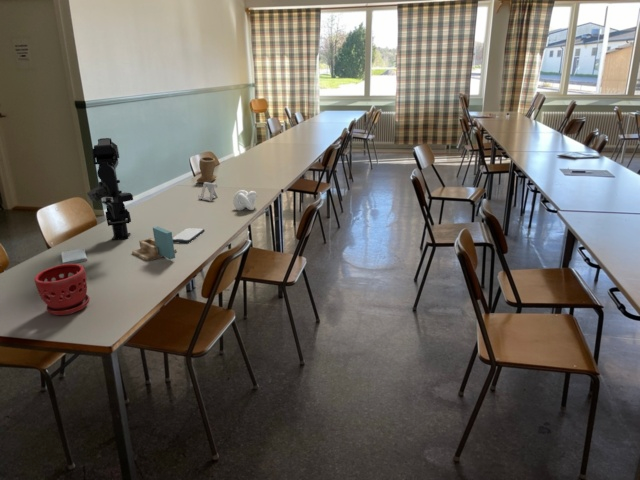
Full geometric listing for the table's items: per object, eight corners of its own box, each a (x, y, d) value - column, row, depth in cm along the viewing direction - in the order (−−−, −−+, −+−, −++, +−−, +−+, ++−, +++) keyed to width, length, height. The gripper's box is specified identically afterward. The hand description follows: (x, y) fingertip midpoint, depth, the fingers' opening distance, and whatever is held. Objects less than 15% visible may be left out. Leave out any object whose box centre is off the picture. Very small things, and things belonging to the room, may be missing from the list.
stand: (132, 253, 186) (130, 243, 184) (160, 244, 194) (159, 235, 192) (147, 261, 178) (146, 251, 176) (176, 251, 186) (175, 242, 184)
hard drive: (86, 258, 180) (83, 247, 190) (62, 262, 176) (60, 252, 186) (87, 262, 180) (84, 251, 191) (63, 266, 177) (61, 256, 187)
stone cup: (213, 184, 291) (210, 159, 286) (194, 184, 293) (191, 159, 287) (221, 178, 305) (219, 154, 300) (203, 178, 307) (200, 154, 301)
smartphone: (187, 231, 211) (169, 243, 196) (186, 227, 211) (168, 239, 196) (205, 232, 209) (189, 244, 195) (205, 228, 209) (189, 240, 194)
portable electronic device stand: (198, 199, 258) (196, 184, 256) (209, 196, 264) (207, 181, 262) (209, 201, 254) (207, 186, 251) (220, 198, 260) (218, 183, 257)
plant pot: (66, 296, 152) (58, 261, 148) (101, 301, 148) (93, 265, 144) (32, 316, 140) (22, 278, 136) (69, 321, 137) (60, 283, 133)
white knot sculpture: (260, 211, 234) (258, 193, 231) (235, 213, 232) (233, 195, 229) (257, 205, 245) (255, 188, 241) (233, 207, 242) (231, 190, 239)
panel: (156, 252, 182) (152, 227, 179) (161, 251, 184) (157, 226, 180) (170, 259, 176) (166, 233, 172) (175, 257, 177) (171, 232, 174)
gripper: (74, 180, 181) (82, 221, 185) (102, 182, 171) (110, 225, 175) (102, 176, 190) (109, 215, 194) (130, 177, 179) (137, 218, 184)
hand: (115, 218), depth 186 cm, fingers closed
